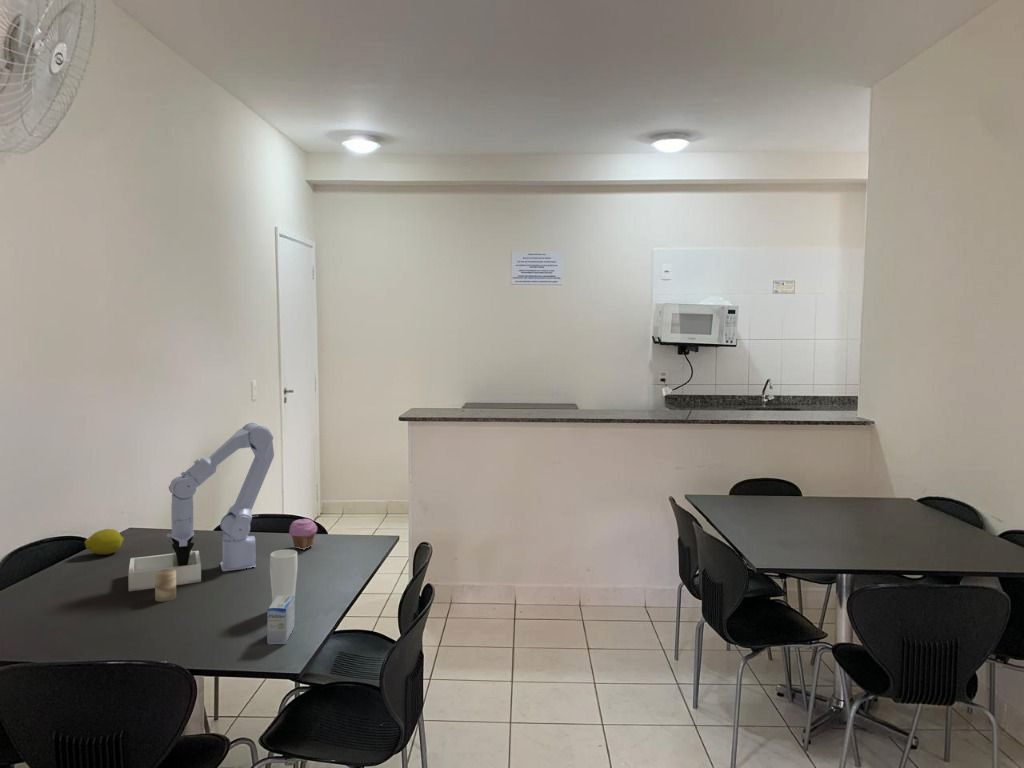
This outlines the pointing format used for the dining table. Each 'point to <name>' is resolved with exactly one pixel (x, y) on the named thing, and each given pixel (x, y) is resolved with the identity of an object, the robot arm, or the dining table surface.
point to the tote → (147, 566)
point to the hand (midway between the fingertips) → (182, 563)
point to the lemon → (104, 542)
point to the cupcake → (303, 532)
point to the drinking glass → (283, 572)
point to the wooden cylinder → (165, 585)
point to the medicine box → (281, 619)
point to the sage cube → (175, 562)
